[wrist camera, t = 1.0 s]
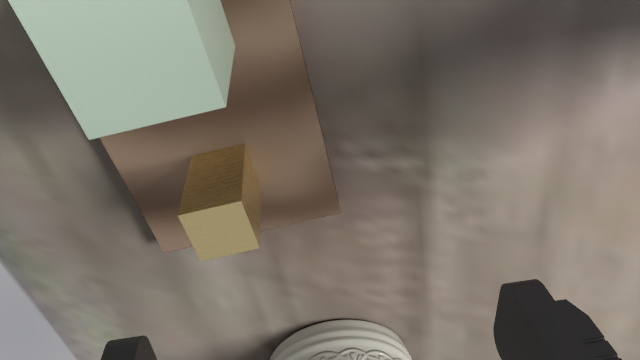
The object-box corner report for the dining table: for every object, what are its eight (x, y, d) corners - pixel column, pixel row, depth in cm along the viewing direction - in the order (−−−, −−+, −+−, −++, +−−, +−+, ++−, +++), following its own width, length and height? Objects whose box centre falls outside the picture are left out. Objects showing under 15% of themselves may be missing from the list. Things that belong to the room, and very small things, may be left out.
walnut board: (-7, -85, 22) (-24, -81, 20) (252, -154, 21) (251, -154, 20) (167, 237, 33) (164, 252, 32) (338, 198, 32) (340, 212, 31)
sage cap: (75, -44, 21) (5, -4, 16) (195, -76, 21) (170, -46, 15) (129, 71, 25) (88, 139, 19) (235, 45, 24) (226, 107, 19)
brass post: (191, 155, 28) (177, 215, 23) (245, 143, 28) (241, 200, 23) (210, 198, 30) (200, 261, 25) (260, 187, 29) (259, 248, 25)
